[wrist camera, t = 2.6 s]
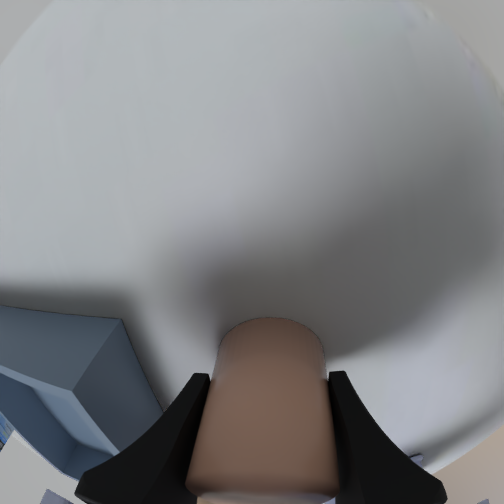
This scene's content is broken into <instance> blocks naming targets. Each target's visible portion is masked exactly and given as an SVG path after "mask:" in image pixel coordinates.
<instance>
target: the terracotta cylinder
mask: <svg viewBox="0 0 504 504" xmlns="http://www.w3.org/2000/svg"><path fill="white" fill-rule="evenodd" d="M185 486H186V488H187V489H188V490H189V491H190V492H191V493H193V494H194V495H196V496H198V497H199V498H202V499H204V500H206V501H209V502H211V503H215V504H322V503H325V502H327V501H329V500H331V499H333V498H334V497H336V496H337V495H338V494H339V492H340V483H339V471H338V460H337V450H336V441H335V432H334V423H333V415H332V407H331V400H330V392H329V385H328V378H327V371H326V365H325V358H324V352H323V347H322V344H321V342H320V340H319V339H318V337H317V336H316V335H315V334H314V333H313V332H312V331H311V330H310V329H308V328H307V327H305V326H304V325H301V324H299V323H297V322H294V321H291V320H287V319H282V318H259V319H253V320H250V321H247V322H244V323H242V324H240V325H238V326H236V327H234V328H233V329H232V330H230V331H229V332H228V333H227V334H226V335H225V337H224V338H223V340H222V342H221V344H220V347H219V351H218V355H217V359H216V363H215V367H214V371H213V374H212V378H211V382H210V386H209V390H208V394H207V398H206V402H205V406H204V410H203V414H202V418H201V422H200V426H199V430H198V434H197V438H196V442H195V446H194V450H193V454H192V458H191V462H190V466H189V470H188V474H187V478H186V482H185Z"/></svg>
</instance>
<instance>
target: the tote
mask: <svg viewBox="0 0 504 504" xmlns="http://www.w3.org/2000/svg"><path fill="white" fill-rule="evenodd" d="M0 414H1V415H2V416H3V417H4V418H5V420H6V421H7V422H8V423H9V424H10V425H11V426H12V427H13V428H14V430H15V431H16V432H17V433H18V434H19V435H20V436H21V437H22V438H23V439H24V440H25V441H26V442H27V443H28V444H29V445H30V446H31V447H32V448H33V449H34V450H35V451H36V452H37V453H39V454H40V455H41V456H42V457H43V458H44V459H45V460H46V461H47V462H49V463H50V464H51V465H52V466H53V467H54V468H56V469H57V470H58V471H59V472H61V473H62V474H64V475H66V476H68V477H70V478H72V479H74V480H76V481H78V482H79V481H80V478H81V476H82V475H83V473H84V472H85V471H87V470H89V469H91V468H93V467H95V466H97V465H99V464H101V463H103V462H105V461H107V460H109V459H110V458H112V457H113V456H115V455H117V454H118V453H120V452H121V451H123V450H124V449H125V448H127V447H128V446H129V445H131V444H132V443H133V442H134V441H136V440H137V439H138V438H139V437H141V436H142V435H143V434H144V433H145V432H146V431H147V430H148V429H149V428H150V427H151V426H152V425H153V424H154V423H155V422H156V421H157V420H158V419H159V418H160V417H161V416H162V414H163V411H162V409H161V407H160V405H159V403H158V401H157V399H156V397H155V395H154V393H153V391H152V389H151V387H150V385H149V383H148V381H147V379H146V377H145V375H144V373H143V370H142V368H141V366H140V364H139V362H138V359H137V357H136V355H135V352H134V350H133V348H132V345H131V343H130V340H129V338H128V336H127V333H126V330H125V328H124V325H123V323H122V320H121V319H113V318H100V317H88V316H77V315H67V314H58V313H50V312H42V311H34V310H27V309H20V308H13V307H7V306H1V305H0Z"/></svg>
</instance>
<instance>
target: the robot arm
mask: <svg viewBox="0 0 504 504" xmlns="http://www.w3.org/2000/svg"><path fill="white" fill-rule="evenodd" d="M210 382H211V381H210V378H209V374H206V373H194V374H193V375H192V377H191V378H190V380H189V381H188V382H187V384H186V385H185V387H184V388H183V389H182V391H181V392H180V393H179V395H178V396H177V397H176V399H175V400H174V401H173V402H172V404H171V405H170V406H169V407H168V409H167V410H166V411H165V412H164V413H163V414H162V416H161V417H160V418H159V419H158V420H157V421H156V422H155V423H154V424H153V425H152V426H151V427H150V428H149V429H148V430H147V431H146V432H145V433H144V434H143V435H142V436H141V437H139V438H138V439H137V440H136V441H134V442H133V443H132V444H131V445H129V446H128V447H127V448H125V449H124V450H123V451H121V452H120V453H118V454H117V455H115V456H113V457H112V458H110V459H109V460H107V461H105V462H103V463H101V464H99V465H97V466H95V467H93V468H91V469H89V470H87V471H85V472H84V473H83V475H82V476H81V478H80V481H79V483H78V485H77V488H76V490H75V493H74V494H75V496H76V497H78V498H79V499H81V500H82V501H84V502H85V503H87V504H197V499H198V496H196V495H194V494H193V493H191V492H190V491H189V490H188V489H187V488H186V486H185V482H186V478H187V474H188V470H189V466H190V462H191V458H192V454H193V450H194V446H195V442H196V438H197V434H198V430H199V426H200V422H201V418H202V414H203V410H204V406H205V402H206V398H207V394H208V390H209V386H210ZM328 385H329V392H330V400H331V407H332V415H333V423H334V432H335V441H336V450H337V460H338V471H339V483H340V492H339V494H338V495H337V496H336V497H334V498H333V499H331V500H329V501H327V502H325V504H444V503H445V502H446V501H447V495H446V491H445V489H444V486H443V484H442V482H441V481H440V480H438V479H437V478H435V477H434V476H432V475H431V474H429V473H428V472H427V471H425V470H424V469H423V468H422V464H421V461H422V460H423V455H418V456H415V457H411V458H409V457H408V456H407V455H406V454H404V453H403V452H402V451H401V450H400V449H399V448H398V447H397V446H396V445H395V444H394V443H393V442H392V441H391V440H390V439H389V437H388V436H387V435H386V434H385V433H384V432H383V430H382V429H381V428H380V427H379V426H378V424H377V423H376V422H375V420H374V419H373V418H372V416H371V415H370V413H369V412H368V410H367V409H366V407H365V406H364V404H363V403H362V401H361V400H360V398H359V396H358V395H357V393H356V391H355V389H354V388H353V386H352V384H351V382H350V380H349V378H348V376H347V374H346V372H345V371H333V372H329V378H328ZM40 504H73V503H71V502H70V501H68V500H66V499H65V498H63V497H61V496H59V495H57V494H56V493H54V492H52V491H50V490H49V489H47V490H46V492H45V494H44V496H43V499H42V501H41V503H40ZM477 504H489V500H488V499H485V500H483V501H481V502H480V503H477Z"/></svg>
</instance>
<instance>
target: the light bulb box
mask: <svg viewBox="0 0 504 504" xmlns="http://www.w3.org/2000/svg"><path fill="white" fill-rule="evenodd" d="M13 431H14V428H13V427H12V426H11V425H10V424H9V423H8V422H7V421H6V420H5V418H4V417H3V416H2V415H1V414H0V451H1V450H2V448H3V446H4V445H5V443H6V442H7V440H8V438H9V437H10V435H11V434H12V432H13Z"/></svg>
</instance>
